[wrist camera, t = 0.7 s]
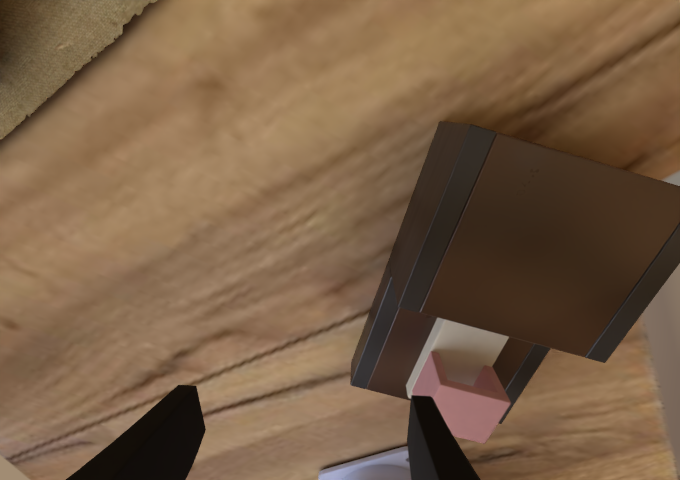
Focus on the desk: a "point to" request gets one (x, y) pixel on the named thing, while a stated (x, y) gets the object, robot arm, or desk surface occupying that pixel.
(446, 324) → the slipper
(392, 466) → the robot arm
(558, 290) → the dark stepped block
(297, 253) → the desk surface
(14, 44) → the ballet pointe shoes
